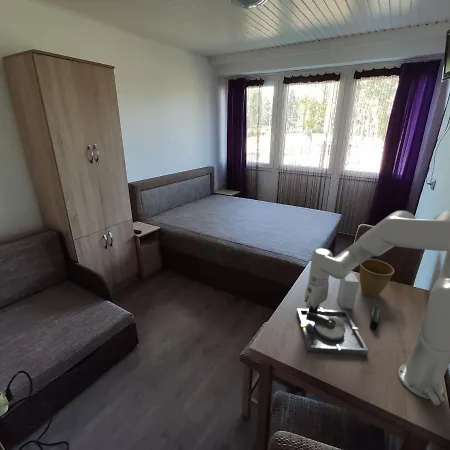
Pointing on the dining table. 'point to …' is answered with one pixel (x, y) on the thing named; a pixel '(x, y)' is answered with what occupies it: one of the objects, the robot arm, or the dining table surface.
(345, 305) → the skincare box
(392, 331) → the dining table surface
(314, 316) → the dial
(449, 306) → the robot arm
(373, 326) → the green cucumber
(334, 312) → the housing
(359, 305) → the dining table surface
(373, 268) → the plant pot
